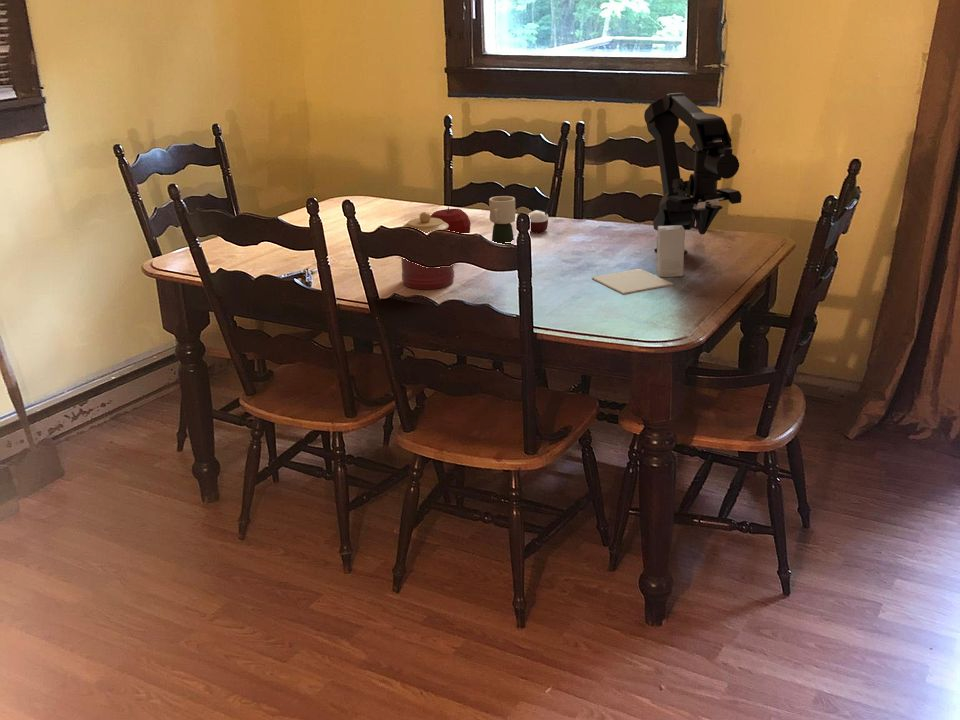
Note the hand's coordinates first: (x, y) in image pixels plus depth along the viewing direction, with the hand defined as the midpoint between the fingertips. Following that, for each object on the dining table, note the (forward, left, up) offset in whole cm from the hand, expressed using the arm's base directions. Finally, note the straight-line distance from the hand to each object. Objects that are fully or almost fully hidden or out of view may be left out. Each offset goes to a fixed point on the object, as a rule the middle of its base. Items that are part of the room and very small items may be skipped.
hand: (702, 234), depth 231 cm
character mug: (+32, -46, -9) cm, 57 cm away
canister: (+63, -25, -9) cm, 69 cm away
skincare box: (+9, 0, -9) cm, 13 cm away
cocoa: (+17, -53, -9) cm, 56 cm away
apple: (+49, -44, -9) cm, 67 cm away
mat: (+20, 0, -9) cm, 22 cm away
